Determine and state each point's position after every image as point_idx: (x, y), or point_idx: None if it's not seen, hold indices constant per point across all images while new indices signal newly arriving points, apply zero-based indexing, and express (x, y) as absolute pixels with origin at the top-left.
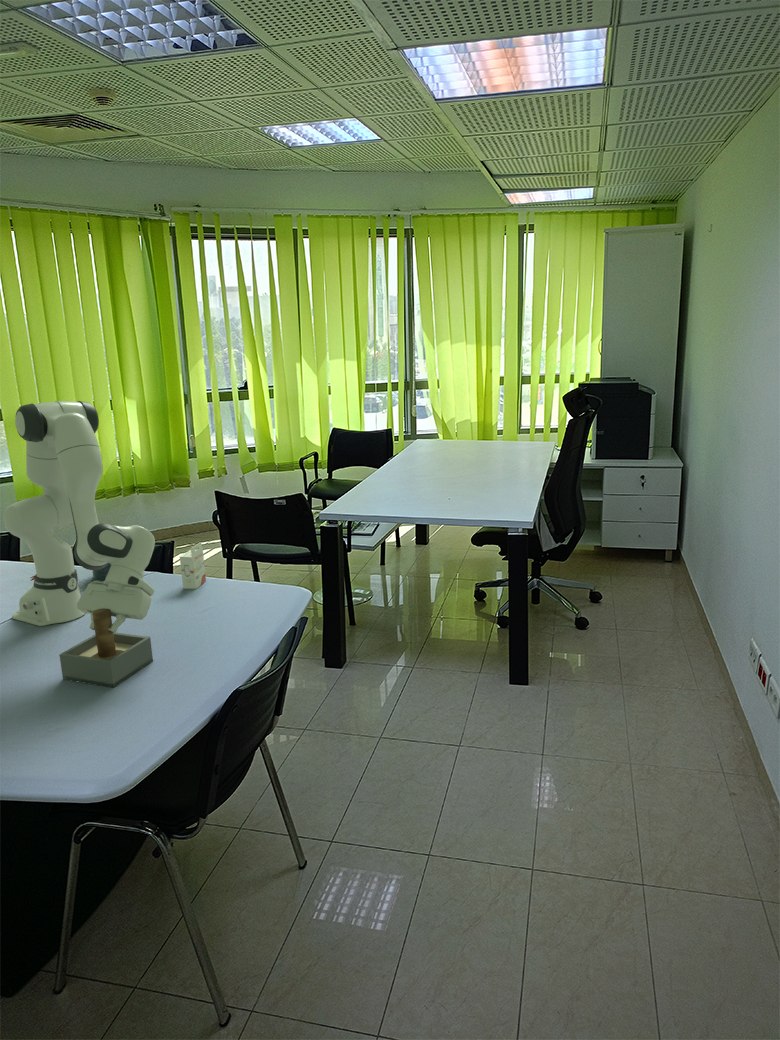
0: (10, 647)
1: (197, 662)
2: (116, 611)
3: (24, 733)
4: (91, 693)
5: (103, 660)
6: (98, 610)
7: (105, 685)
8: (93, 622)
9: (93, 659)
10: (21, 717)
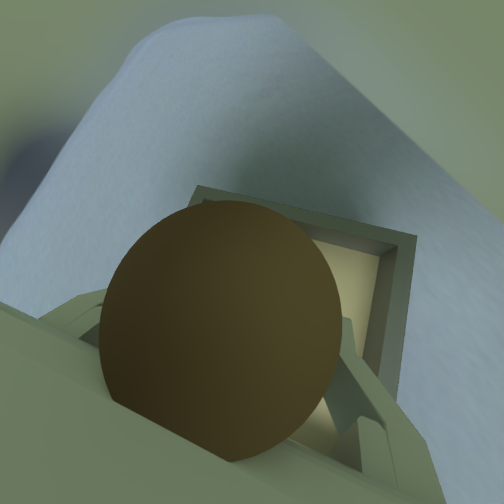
0: None
1: None
2: (42, 334)
3: (316, 80)
4: None
5: (223, 195)
6: (272, 351)
7: None
8: None
9: (259, 200)
10: (356, 115)
